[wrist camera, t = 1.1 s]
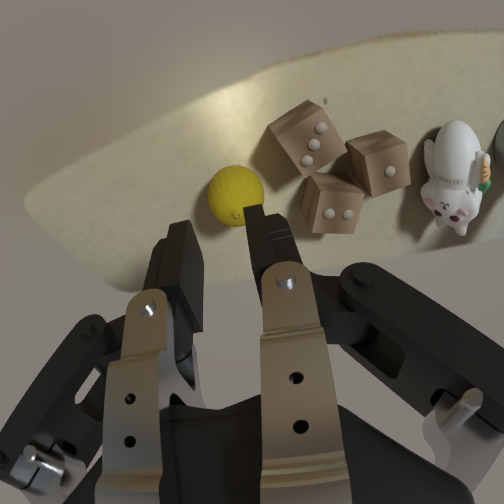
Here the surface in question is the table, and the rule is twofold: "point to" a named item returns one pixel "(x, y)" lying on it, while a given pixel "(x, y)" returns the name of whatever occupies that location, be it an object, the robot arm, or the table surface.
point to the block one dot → (379, 162)
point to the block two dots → (331, 203)
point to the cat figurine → (455, 176)
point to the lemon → (234, 194)
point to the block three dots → (308, 137)
